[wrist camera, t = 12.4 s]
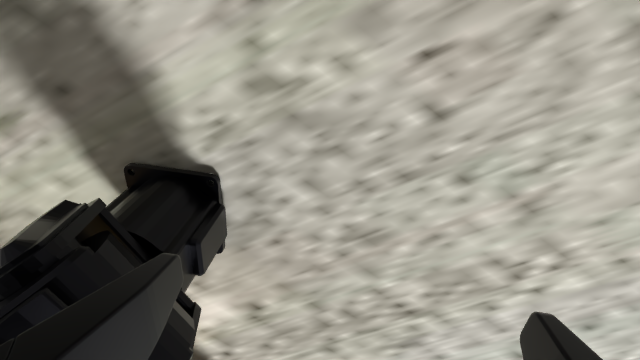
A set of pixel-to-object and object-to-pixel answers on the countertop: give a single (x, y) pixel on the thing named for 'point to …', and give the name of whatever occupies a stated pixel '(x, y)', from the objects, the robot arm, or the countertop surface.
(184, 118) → the countertop surface
